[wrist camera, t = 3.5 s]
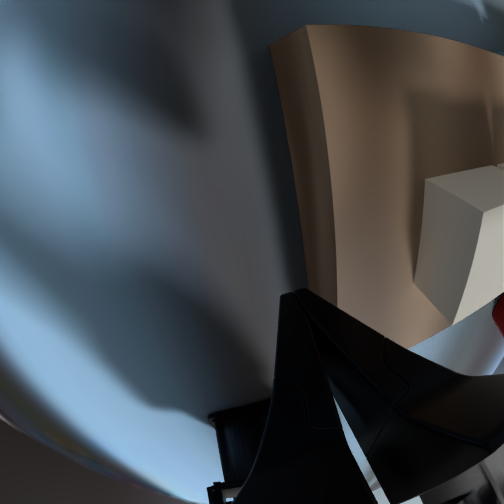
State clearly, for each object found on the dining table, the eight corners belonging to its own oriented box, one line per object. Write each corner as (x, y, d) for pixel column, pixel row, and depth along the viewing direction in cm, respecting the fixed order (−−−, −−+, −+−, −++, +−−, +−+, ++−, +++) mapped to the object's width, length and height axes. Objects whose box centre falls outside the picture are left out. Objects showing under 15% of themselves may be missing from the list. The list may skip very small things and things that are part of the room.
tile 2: (413, 283, 12) (451, 325, 9) (425, 179, 9) (483, 212, 7) (477, 253, 12) (513, 284, 10) (492, 165, 9) (539, 189, 7)
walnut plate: (312, 331, 18) (335, 380, 14) (269, 45, 9) (305, 24, 6) (479, 260, 19) (509, 286, 15) (494, 63, 10) (540, 72, 7)
